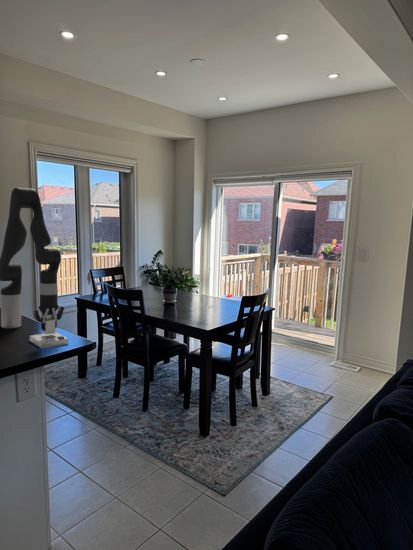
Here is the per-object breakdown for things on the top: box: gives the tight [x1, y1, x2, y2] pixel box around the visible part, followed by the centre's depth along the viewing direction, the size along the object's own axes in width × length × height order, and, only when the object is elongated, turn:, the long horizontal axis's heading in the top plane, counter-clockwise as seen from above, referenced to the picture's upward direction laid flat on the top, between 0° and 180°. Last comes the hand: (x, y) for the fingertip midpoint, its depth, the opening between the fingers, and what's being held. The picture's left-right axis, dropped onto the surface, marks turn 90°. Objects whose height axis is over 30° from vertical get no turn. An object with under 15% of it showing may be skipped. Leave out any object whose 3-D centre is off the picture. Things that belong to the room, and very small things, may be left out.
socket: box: [29, 331, 69, 350], centre depth 174 cm, size 14×12×3 cm
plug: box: [42, 315, 56, 334], centre depth 173 cm, size 4×4×7 cm
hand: (48, 329), depth 173 cm, fingers closed on plug, 4 cm apart
